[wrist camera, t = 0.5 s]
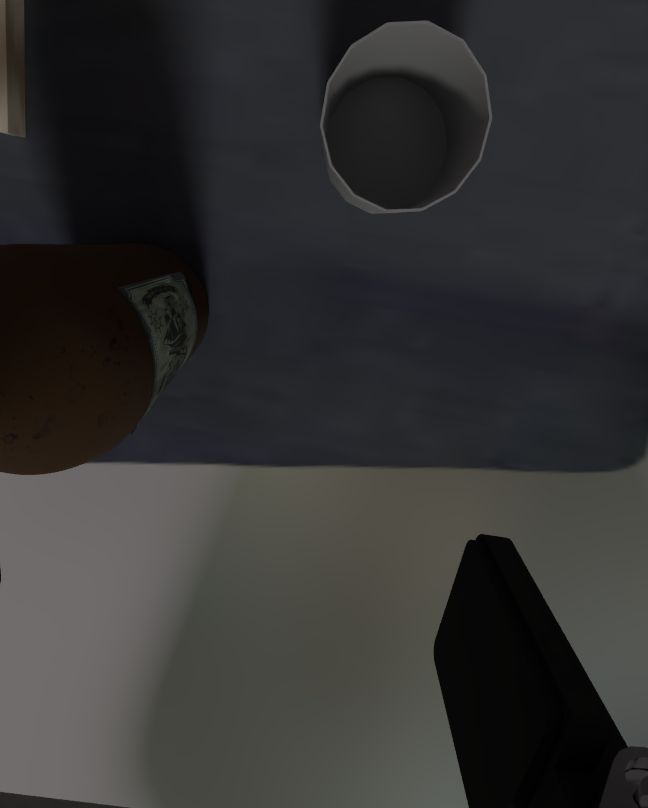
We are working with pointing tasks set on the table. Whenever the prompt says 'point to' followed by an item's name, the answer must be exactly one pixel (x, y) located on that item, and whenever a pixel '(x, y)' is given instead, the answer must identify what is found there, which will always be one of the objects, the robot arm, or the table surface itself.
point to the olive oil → (88, 346)
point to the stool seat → (12, 68)
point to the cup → (404, 118)
